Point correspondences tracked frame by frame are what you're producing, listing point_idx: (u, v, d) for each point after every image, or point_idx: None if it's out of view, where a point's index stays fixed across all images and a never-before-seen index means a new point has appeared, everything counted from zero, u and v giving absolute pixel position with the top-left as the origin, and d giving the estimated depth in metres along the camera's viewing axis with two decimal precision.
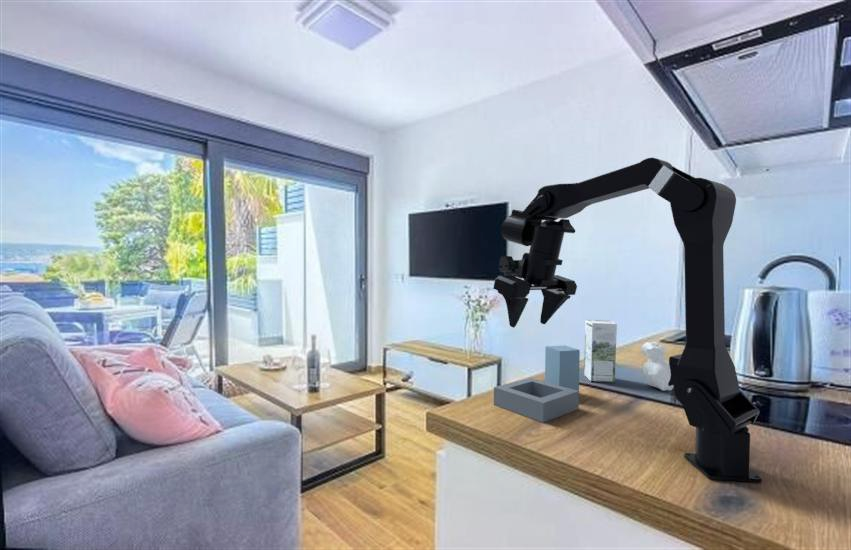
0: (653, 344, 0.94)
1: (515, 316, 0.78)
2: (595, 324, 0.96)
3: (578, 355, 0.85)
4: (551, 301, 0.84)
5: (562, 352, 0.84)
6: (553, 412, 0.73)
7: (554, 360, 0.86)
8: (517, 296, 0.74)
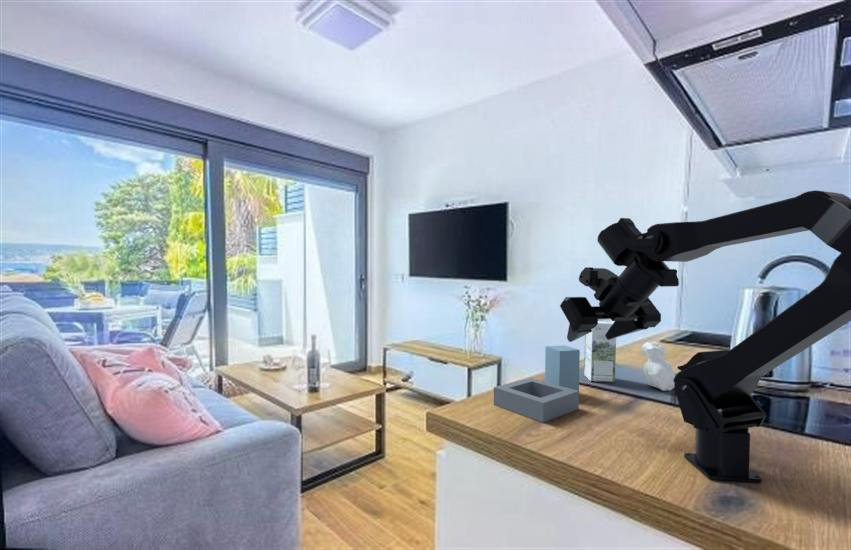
0: (653, 344, 0.94)
1: (573, 336, 0.75)
2: None
3: (578, 355, 0.85)
4: (624, 324, 0.77)
5: (562, 352, 0.84)
6: (553, 412, 0.73)
7: (554, 360, 0.86)
8: (578, 330, 0.70)
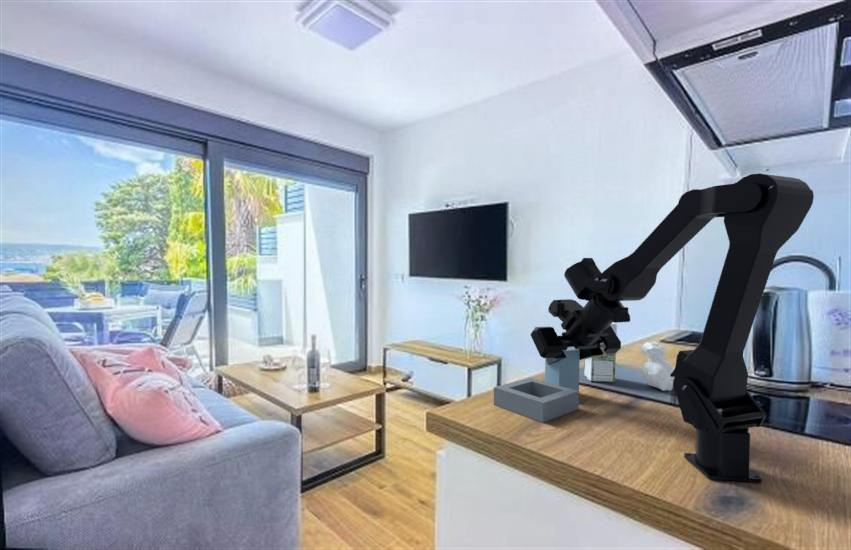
0: (653, 344, 0.94)
1: (551, 360, 0.85)
2: None
3: (578, 355, 0.85)
4: (582, 350, 0.85)
5: None
6: (553, 412, 0.73)
7: None
8: (545, 357, 0.79)
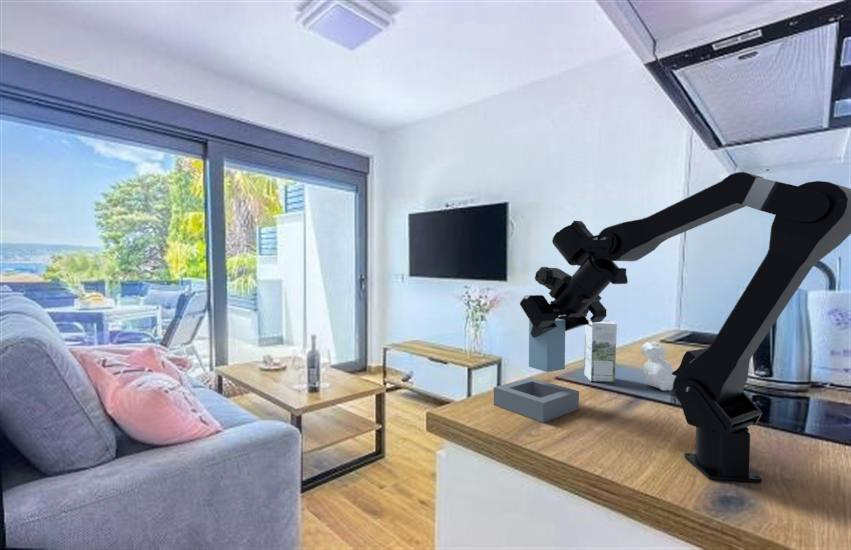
0: (653, 344, 0.94)
1: (538, 332, 0.80)
2: (595, 324, 0.96)
3: (563, 325, 0.81)
4: (567, 320, 0.82)
5: None
6: (553, 412, 0.73)
7: None
8: (538, 326, 0.73)
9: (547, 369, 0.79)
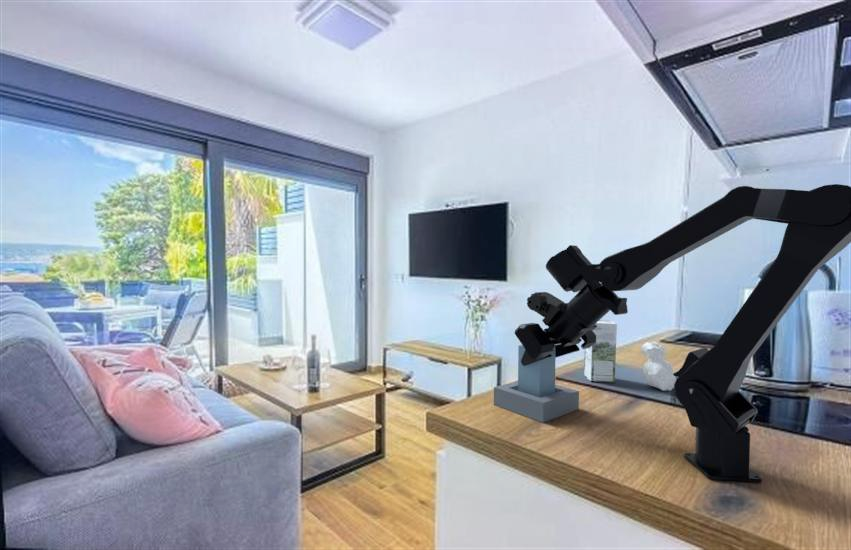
0: (653, 344, 0.94)
1: (530, 361, 0.75)
2: None
3: (554, 352, 0.78)
4: (558, 347, 0.78)
5: None
6: (553, 412, 0.73)
7: None
8: (536, 358, 0.69)
9: None
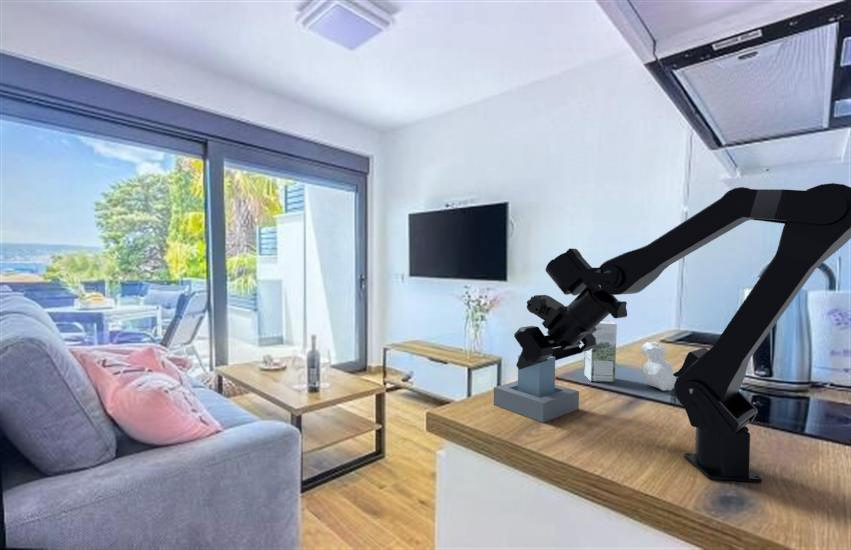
0: (653, 344, 0.94)
1: (526, 365, 0.75)
2: None
3: (554, 363, 0.78)
4: (561, 349, 0.79)
5: None
6: (553, 412, 0.73)
7: (531, 370, 0.77)
8: (536, 361, 0.69)
9: None
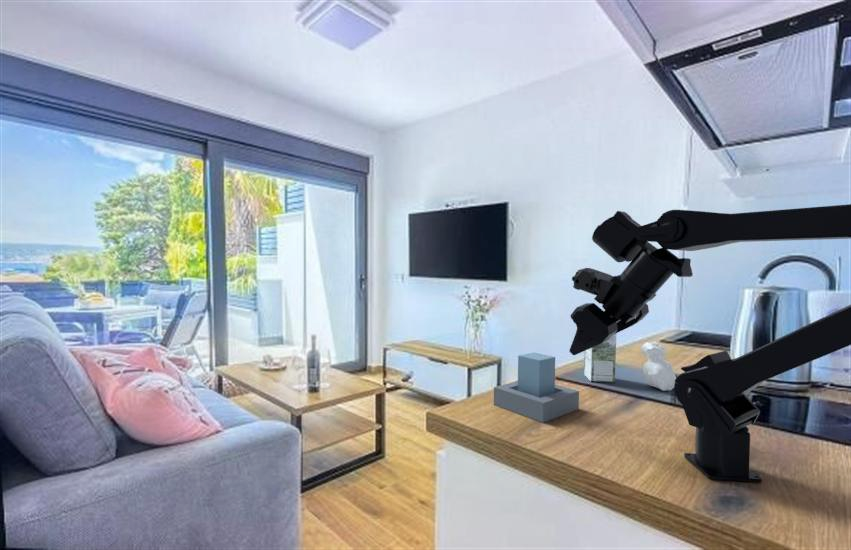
0: (653, 344, 0.94)
1: (583, 349, 0.67)
2: None
3: (554, 363, 0.78)
4: None
5: (541, 361, 0.76)
6: (553, 412, 0.73)
7: (531, 370, 0.77)
8: (603, 341, 0.61)
9: None
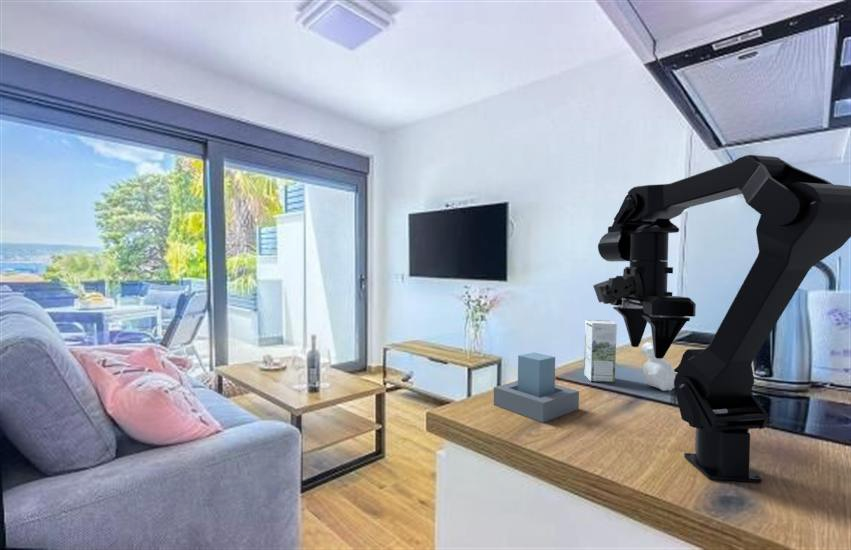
0: None
1: (669, 342, 0.63)
2: (595, 324, 0.96)
3: (554, 363, 0.78)
4: (638, 318, 0.74)
5: (541, 361, 0.76)
6: (553, 412, 0.73)
7: (531, 370, 0.77)
8: None
9: None
